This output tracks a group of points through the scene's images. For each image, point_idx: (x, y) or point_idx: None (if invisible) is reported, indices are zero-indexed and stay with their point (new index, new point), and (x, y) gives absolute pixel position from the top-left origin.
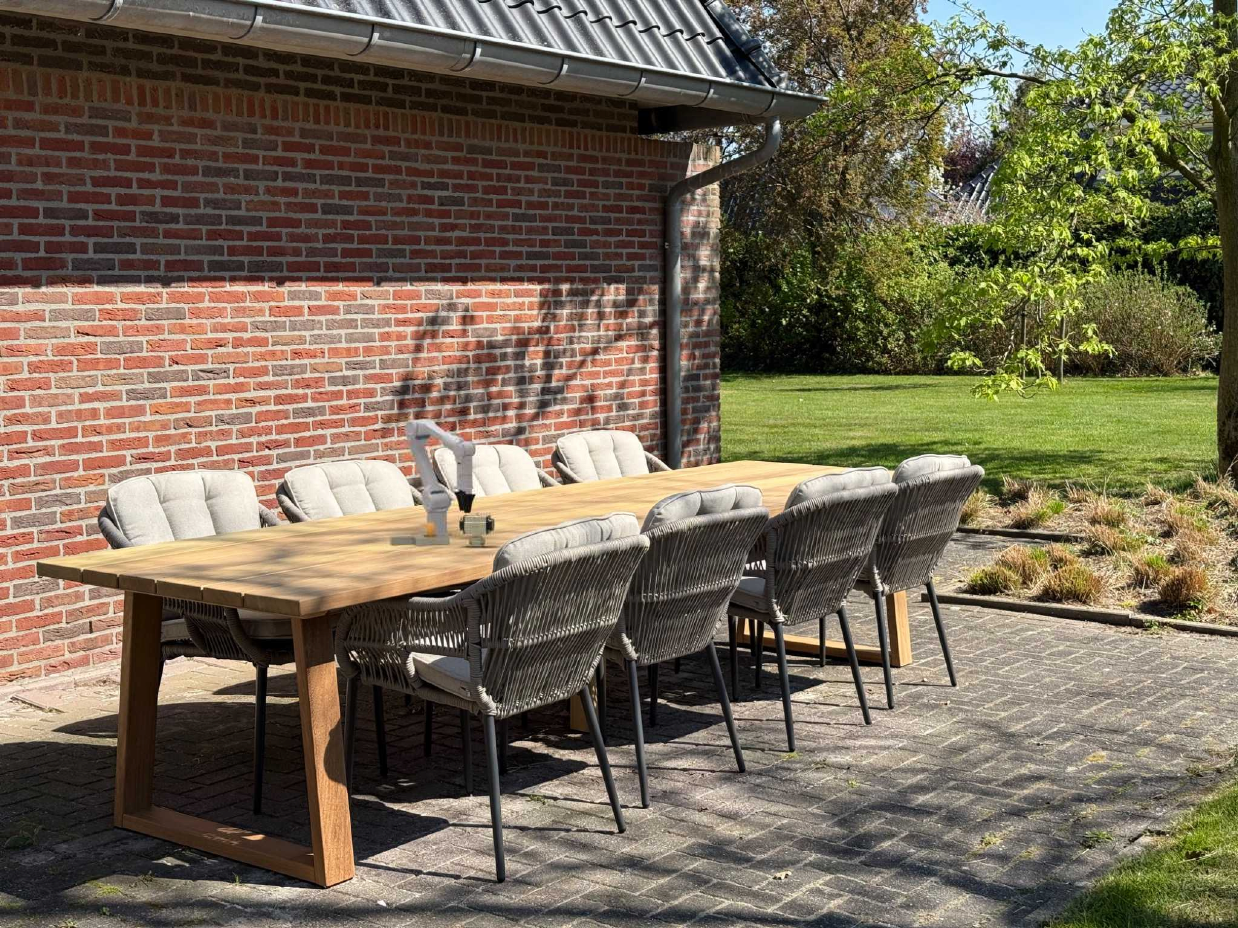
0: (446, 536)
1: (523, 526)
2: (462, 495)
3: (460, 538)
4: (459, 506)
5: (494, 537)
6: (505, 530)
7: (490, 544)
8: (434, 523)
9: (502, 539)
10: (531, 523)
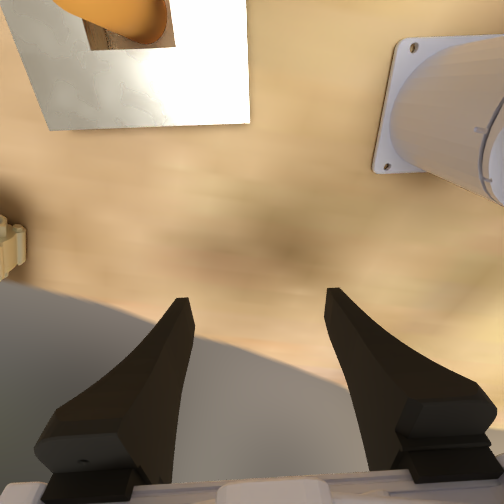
0: (85, 116)
1: None
2: (42, 433)
3: (272, 207)
4: (339, 306)
5: (259, 318)
6: None
7: (75, 287)
8: (71, 13)
9: (203, 332)
10: None
